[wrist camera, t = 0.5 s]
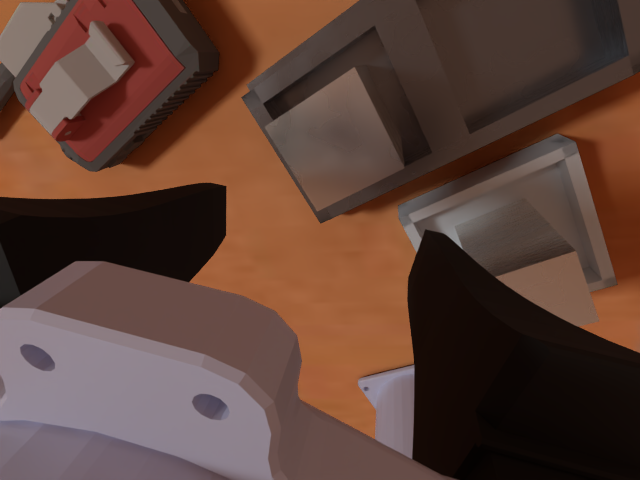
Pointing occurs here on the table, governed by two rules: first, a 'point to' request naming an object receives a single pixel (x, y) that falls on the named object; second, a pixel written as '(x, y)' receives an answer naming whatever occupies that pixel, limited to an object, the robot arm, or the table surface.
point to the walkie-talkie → (103, 70)
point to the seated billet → (339, 139)
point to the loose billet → (530, 260)
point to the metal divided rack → (456, 71)
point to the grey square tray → (515, 184)
